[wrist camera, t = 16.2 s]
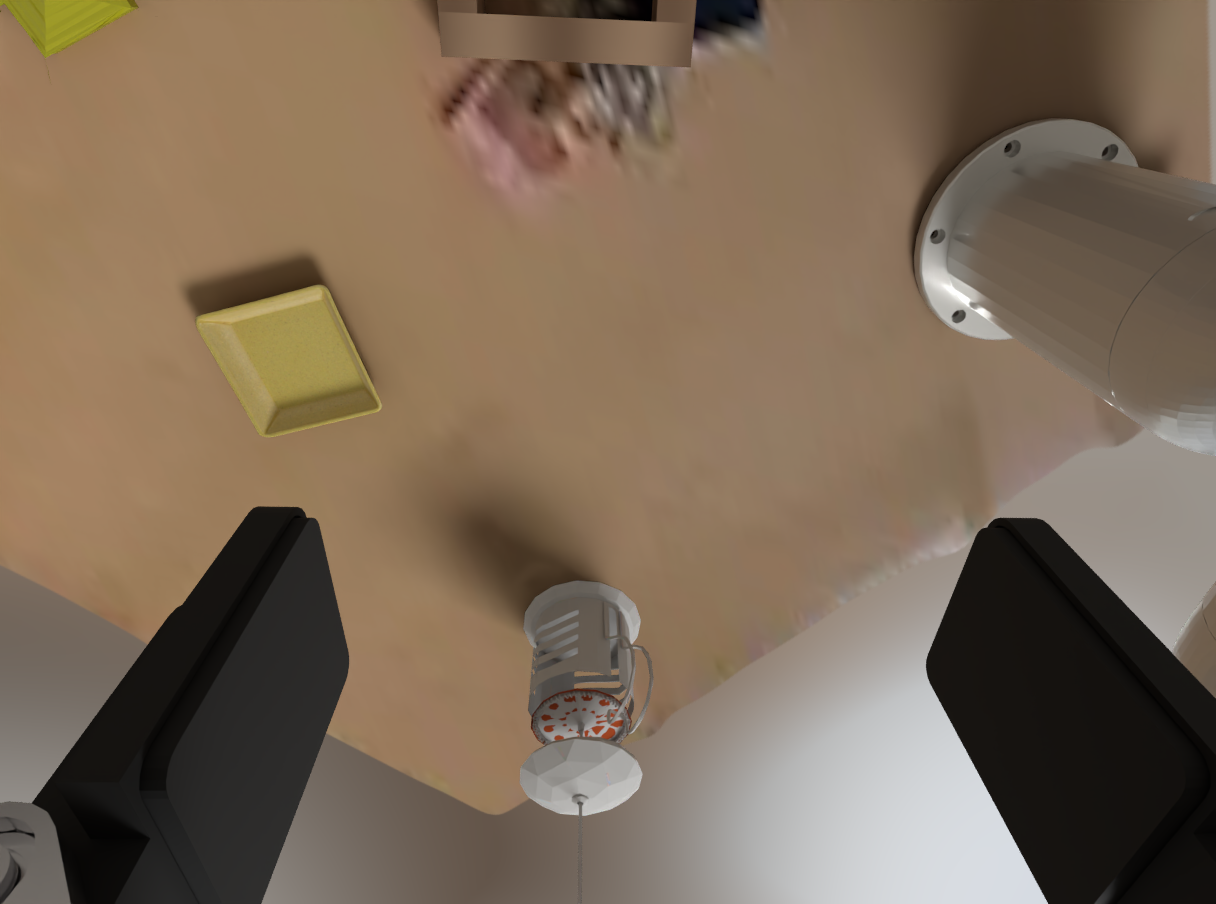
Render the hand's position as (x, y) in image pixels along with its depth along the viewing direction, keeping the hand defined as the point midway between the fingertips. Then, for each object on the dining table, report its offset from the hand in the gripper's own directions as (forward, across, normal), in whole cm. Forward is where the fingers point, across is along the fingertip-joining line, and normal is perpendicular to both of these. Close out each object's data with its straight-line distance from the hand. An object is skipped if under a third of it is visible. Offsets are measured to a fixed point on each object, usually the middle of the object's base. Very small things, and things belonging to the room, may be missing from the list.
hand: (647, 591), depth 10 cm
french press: (+34, 0, +34) cm, 48 cm away
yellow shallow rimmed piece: (+34, +19, +11) cm, 40 cm away
